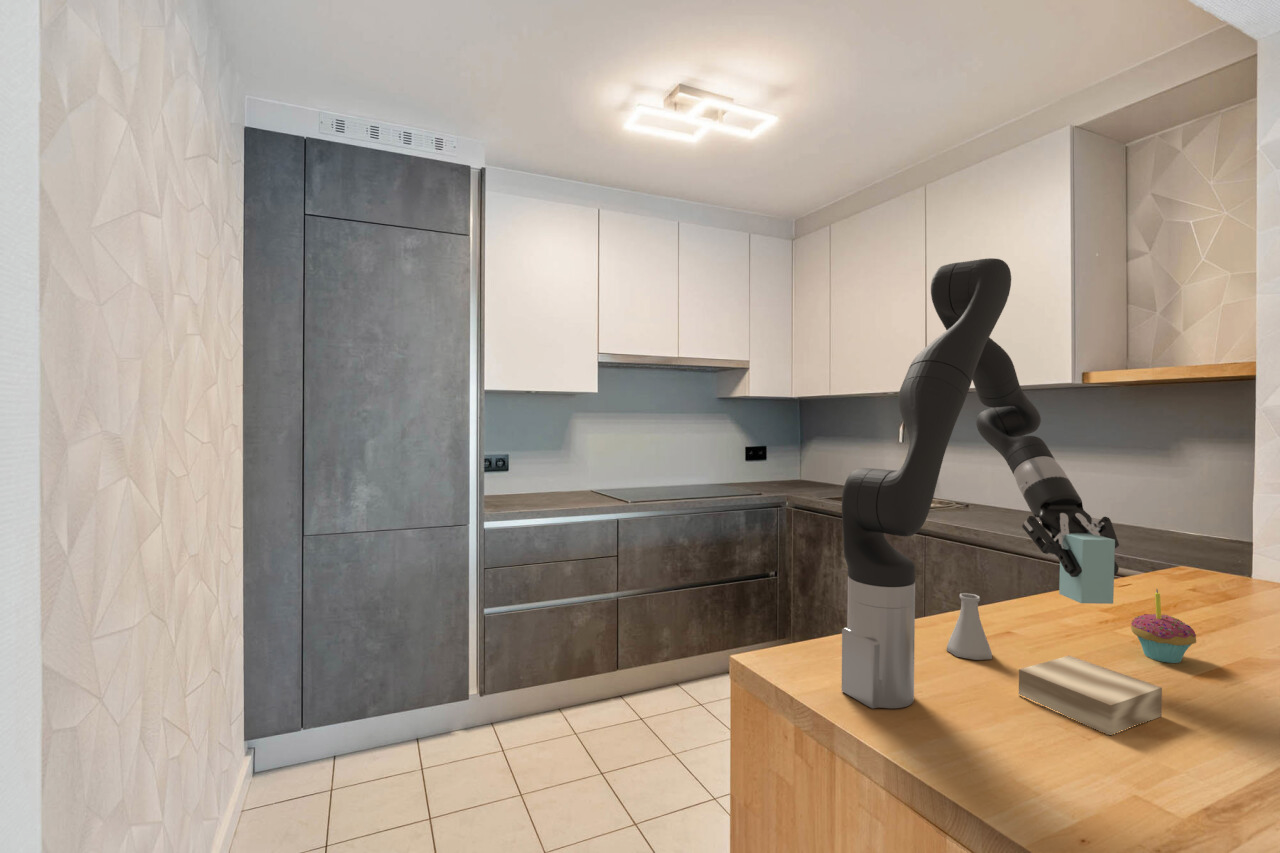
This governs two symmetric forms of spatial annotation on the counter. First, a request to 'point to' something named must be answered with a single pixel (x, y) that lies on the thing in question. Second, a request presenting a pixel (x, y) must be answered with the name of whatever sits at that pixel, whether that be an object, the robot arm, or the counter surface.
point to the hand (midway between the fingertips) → (1095, 574)
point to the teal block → (1090, 569)
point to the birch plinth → (1091, 693)
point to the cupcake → (1163, 635)
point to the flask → (969, 632)
